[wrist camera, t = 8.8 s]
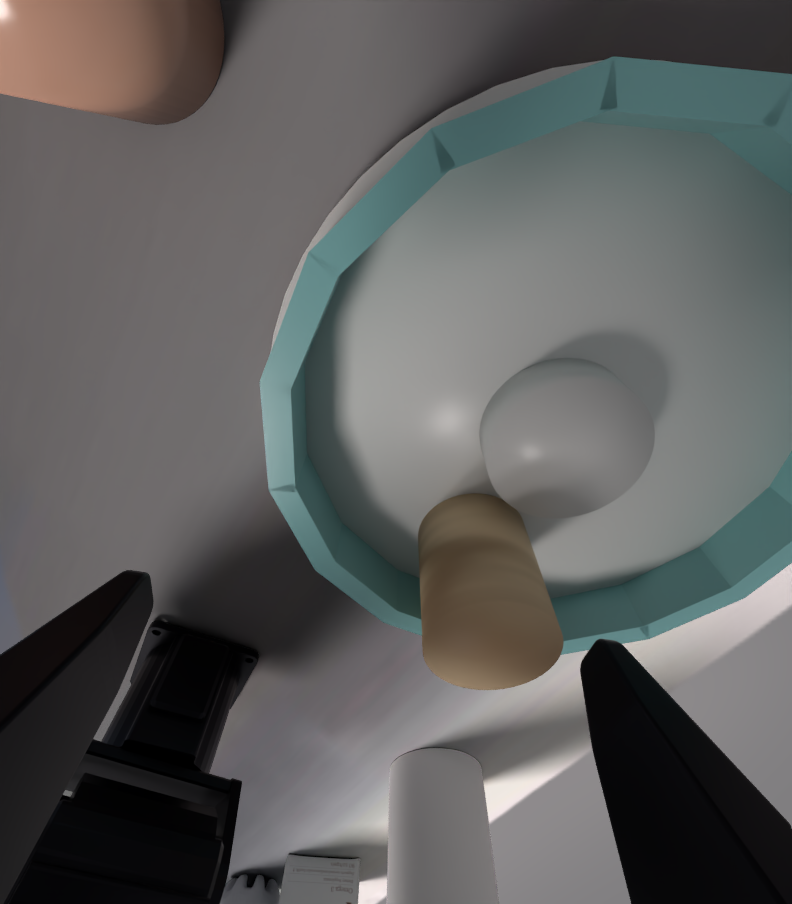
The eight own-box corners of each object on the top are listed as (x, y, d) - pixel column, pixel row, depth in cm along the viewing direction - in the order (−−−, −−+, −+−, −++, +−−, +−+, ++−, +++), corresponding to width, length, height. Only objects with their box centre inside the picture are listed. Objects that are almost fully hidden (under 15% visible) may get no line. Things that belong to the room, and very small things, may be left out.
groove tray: (587, 648, 27) (609, 706, 24) (208, 508, 22) (178, 561, 19) (999, 295, 17) (1131, 323, 14) (450, -141, 11) (468, -254, 8)
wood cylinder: (485, 586, 23) (509, 703, 18) (399, 552, 22) (398, 666, 17) (546, 519, 21) (593, 631, 16) (453, 476, 20) (471, 582, 15)
